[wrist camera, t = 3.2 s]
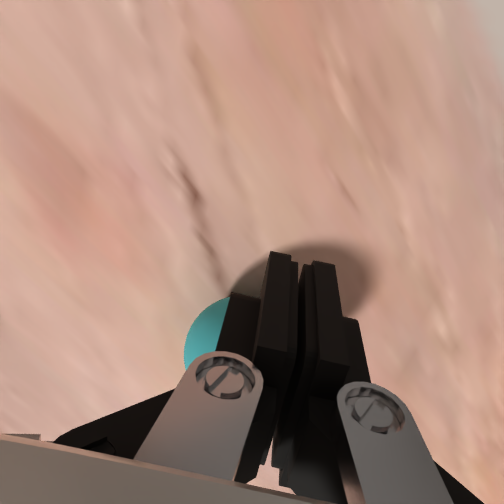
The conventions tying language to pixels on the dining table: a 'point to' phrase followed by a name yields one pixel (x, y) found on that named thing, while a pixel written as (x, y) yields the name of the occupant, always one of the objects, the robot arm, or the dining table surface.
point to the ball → (205, 331)
